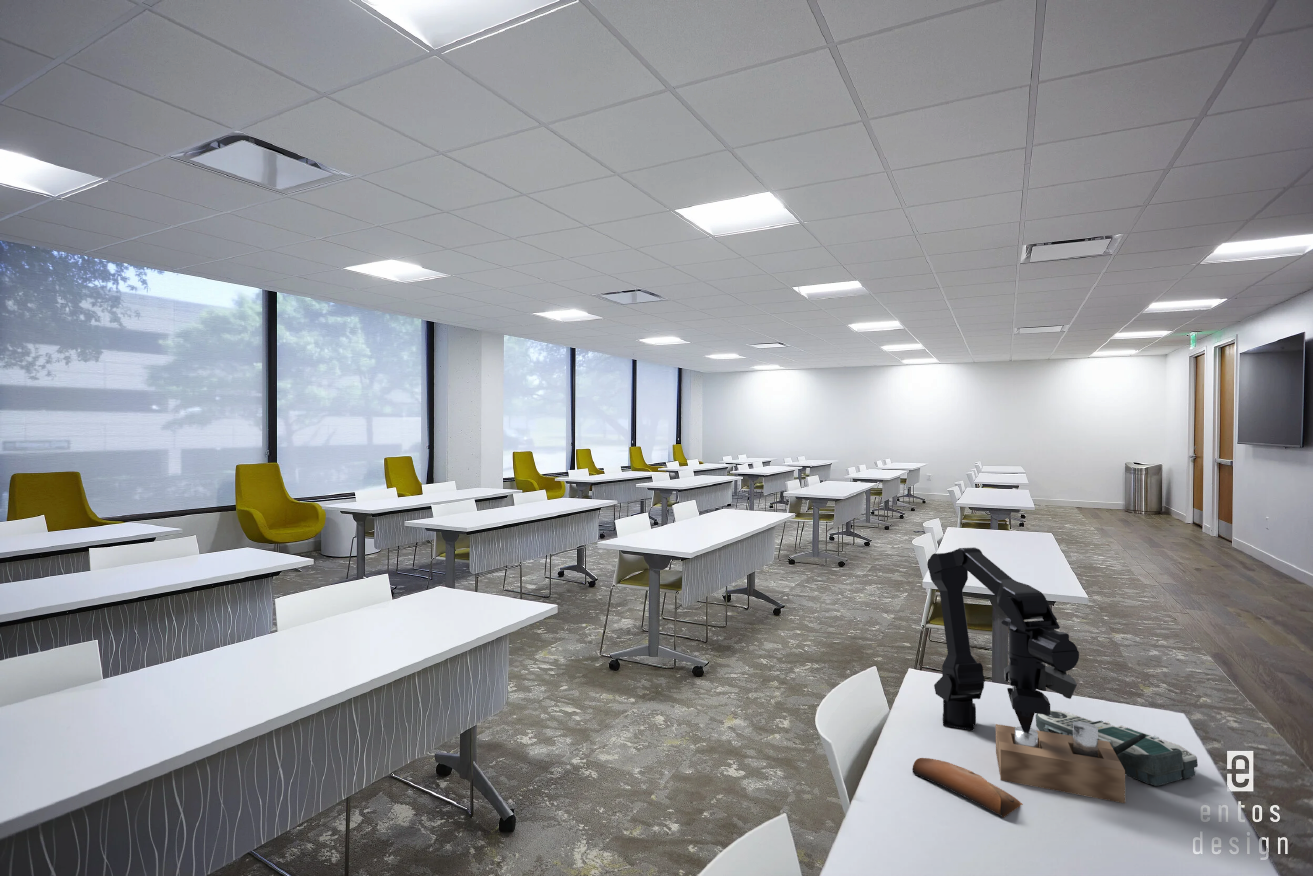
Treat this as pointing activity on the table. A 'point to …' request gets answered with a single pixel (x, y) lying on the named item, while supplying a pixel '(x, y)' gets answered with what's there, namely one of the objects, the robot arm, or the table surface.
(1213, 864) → the table surface
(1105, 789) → the pin block
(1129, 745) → the communication device
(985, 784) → the sunglasses case
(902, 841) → the table surface
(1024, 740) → the pin
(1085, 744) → the pin
